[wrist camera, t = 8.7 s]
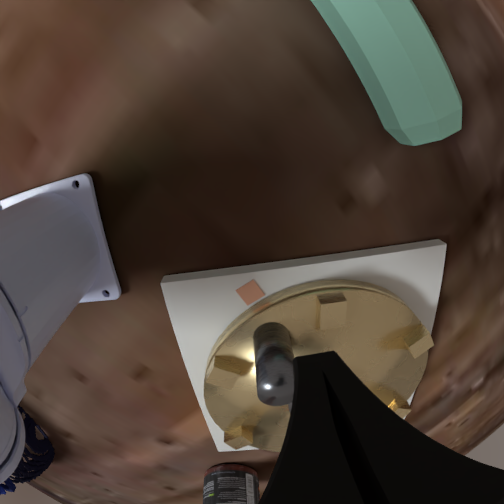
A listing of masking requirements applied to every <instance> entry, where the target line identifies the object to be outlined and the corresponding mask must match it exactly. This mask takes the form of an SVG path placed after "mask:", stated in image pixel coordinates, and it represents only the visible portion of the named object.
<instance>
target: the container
mask: <svg viewBox="0 0 504 504" xmlns="http://www.w3.org/2000/svg"><path fill="white" fill-rule="evenodd" d="M311 1H312V3H313V4H314V6H315V7H316V8H317V10H318V11H319V13H320V14H321V16H322V17H323V19H324V20H325V22H326V23H327V25H328V26H329V28H330V29H331V31H332V32H333V34H334V35H335V37H336V39H337V40H338V42H339V43H340V45H341V47H342V48H343V50H344V52H345V53H346V55H347V57H348V58H349V60H350V62H351V64H352V65H353V67H354V69H355V71H356V73H357V74H358V76H359V78H360V80H361V82H362V84H363V86H364V87H365V89H366V91H367V93H368V95H369V97H370V99H371V101H372V103H373V105H374V107H375V109H376V111H377V114H378V116H379V118H380V120H381V122H382V124H383V126H384V129H385V130H386V131H388V132H389V133H390V134H391V135H392V136H393V137H394V138H395V139H396V140H397V141H398V142H399V143H400V144H405V145H411V146H417V145H421V144H426V143H430V142H434V141H439V140H442V139H444V138H446V137H448V136H450V135H452V134H453V133H455V132H457V131H459V130H461V127H462V100H461V97H460V95H459V92H458V90H457V87H456V85H455V82H454V80H453V77H452V75H451V73H450V71H449V68H448V66H447V64H446V62H445V60H444V58H443V55H442V53H441V51H440V49H439V47H438V45H437V43H436V41H435V39H434V38H433V36H432V34H431V32H430V30H429V28H428V26H427V25H426V23H425V21H424V19H423V18H422V16H421V14H420V13H419V11H418V9H417V8H416V6H415V4H414V3H413V1H412V0H311Z"/></svg>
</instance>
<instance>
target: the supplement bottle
mask: <svg viewBox="0 0 504 504" xmlns="http://www.w3.org/2000/svg"><path fill="white" fill-rule="evenodd" d="M259 501H260V494H259V480H258V475H257V472H256V471H255V470H253V469H252V468H250V467H247V466H244V465H239V464H221V465H217V466H214V467H211V468H210V469H208V470H207V471H206V472H205V478H204V491H203V504H258V503H259Z"/></svg>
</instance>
